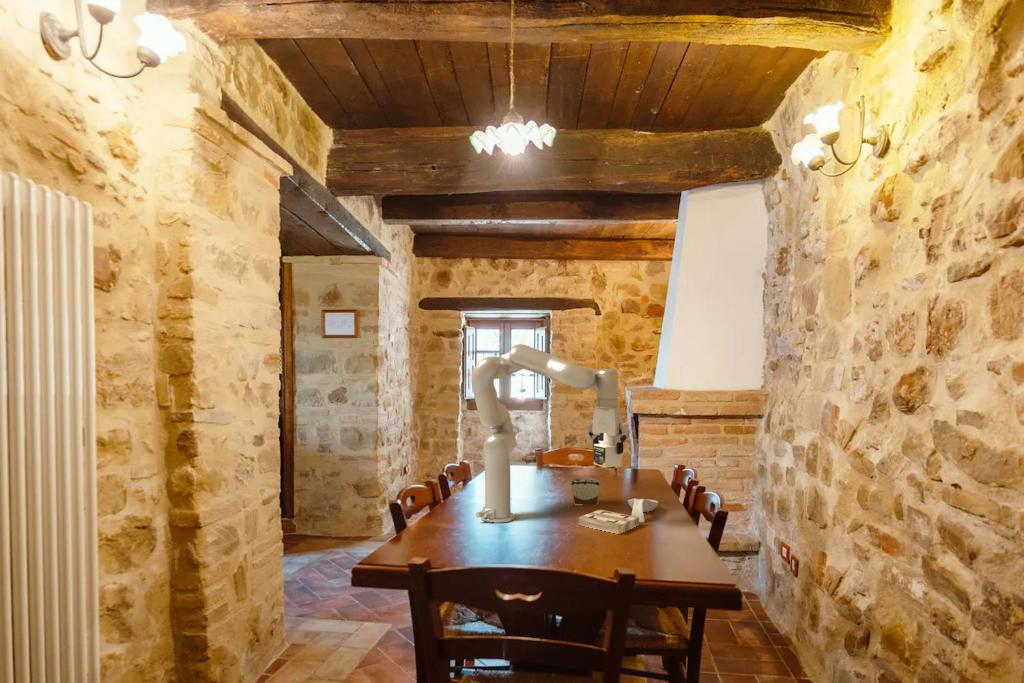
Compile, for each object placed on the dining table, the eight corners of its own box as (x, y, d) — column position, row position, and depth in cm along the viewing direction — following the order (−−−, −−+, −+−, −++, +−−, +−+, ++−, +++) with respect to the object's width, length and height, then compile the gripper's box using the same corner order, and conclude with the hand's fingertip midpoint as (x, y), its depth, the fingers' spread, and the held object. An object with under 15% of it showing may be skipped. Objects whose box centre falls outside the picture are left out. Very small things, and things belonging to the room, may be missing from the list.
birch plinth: (618, 534, 183) (618, 525, 183) (578, 525, 193) (578, 516, 194) (639, 525, 193) (639, 516, 193) (600, 517, 204) (600, 508, 204)
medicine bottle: (593, 464, 196) (593, 430, 196) (609, 462, 199) (609, 429, 200) (605, 467, 189) (605, 432, 190) (621, 466, 193) (621, 431, 193)
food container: (600, 502, 227) (600, 477, 228) (601, 505, 221) (601, 480, 222) (570, 501, 229) (570, 477, 229) (570, 505, 222) (570, 480, 223)
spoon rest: (629, 506, 222) (629, 488, 222) (659, 508, 218) (659, 490, 218) (622, 521, 199) (621, 501, 200) (655, 524, 196) (655, 504, 196)
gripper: (581, 403, 198) (581, 451, 198) (623, 405, 187) (624, 456, 186) (592, 402, 204) (593, 448, 203) (634, 404, 192) (635, 453, 192)
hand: (607, 452), depth 195 cm, fingers closed on medicine bottle, 9 cm apart
